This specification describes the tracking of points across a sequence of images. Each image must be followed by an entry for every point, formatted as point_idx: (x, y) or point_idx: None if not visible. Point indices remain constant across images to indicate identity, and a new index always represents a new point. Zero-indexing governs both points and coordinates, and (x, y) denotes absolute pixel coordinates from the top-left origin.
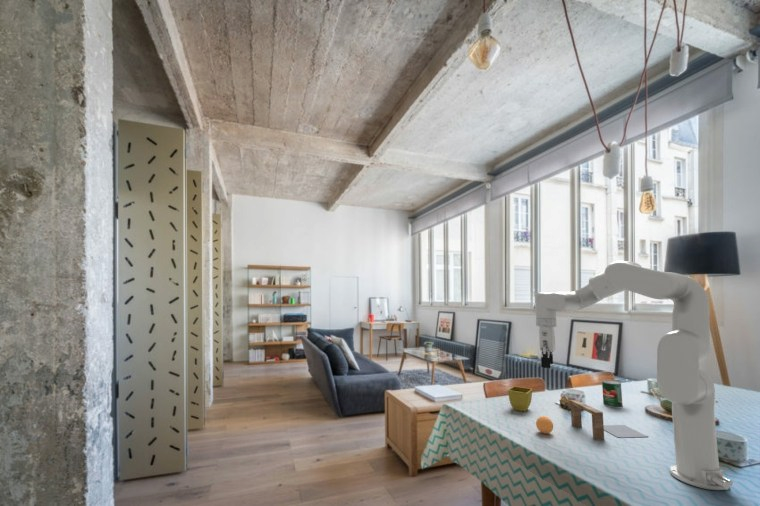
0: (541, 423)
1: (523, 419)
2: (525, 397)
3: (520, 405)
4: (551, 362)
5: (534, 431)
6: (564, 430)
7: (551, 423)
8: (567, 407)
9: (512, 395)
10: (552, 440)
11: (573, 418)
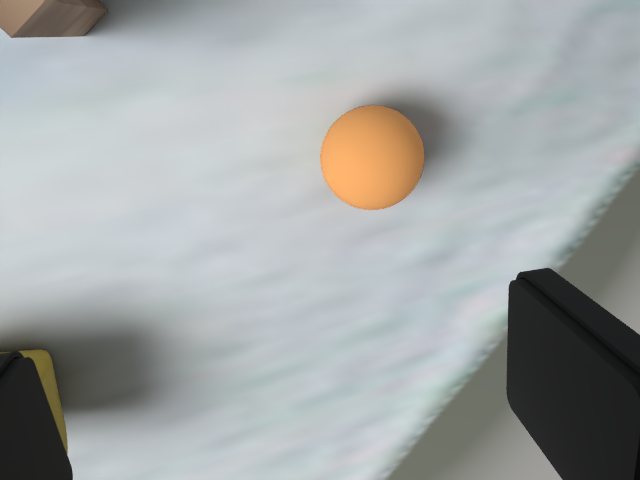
0: (422, 169)
1: (205, 308)
2: None
3: (55, 390)
4: (25, 385)
5: None
6: (232, 58)
7: (390, 115)
8: None
9: None
10: (454, 84)
11: (85, 15)
